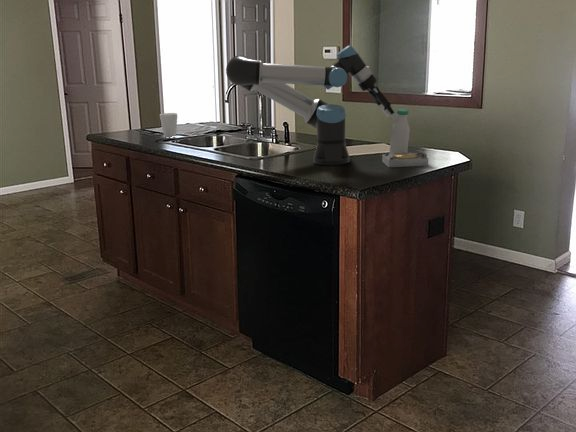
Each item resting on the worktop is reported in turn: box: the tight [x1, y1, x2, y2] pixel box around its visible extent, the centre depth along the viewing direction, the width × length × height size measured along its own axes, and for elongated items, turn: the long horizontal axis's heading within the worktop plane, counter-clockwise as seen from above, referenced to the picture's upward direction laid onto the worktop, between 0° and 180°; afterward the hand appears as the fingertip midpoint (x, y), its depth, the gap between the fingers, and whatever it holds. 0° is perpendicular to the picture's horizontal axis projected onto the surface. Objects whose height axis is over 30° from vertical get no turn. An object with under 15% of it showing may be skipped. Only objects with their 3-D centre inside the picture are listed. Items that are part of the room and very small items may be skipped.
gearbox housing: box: [382, 149, 429, 168], centre depth 248 cm, size 16×12×4 cm
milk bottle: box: [388, 108, 411, 154], centre depth 259 cm, size 8×8×20 cm
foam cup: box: [159, 112, 178, 138], centre depth 334 cm, size 10×9×13 cm
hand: (393, 117), depth 265 cm, fingers open, 13 cm apart
